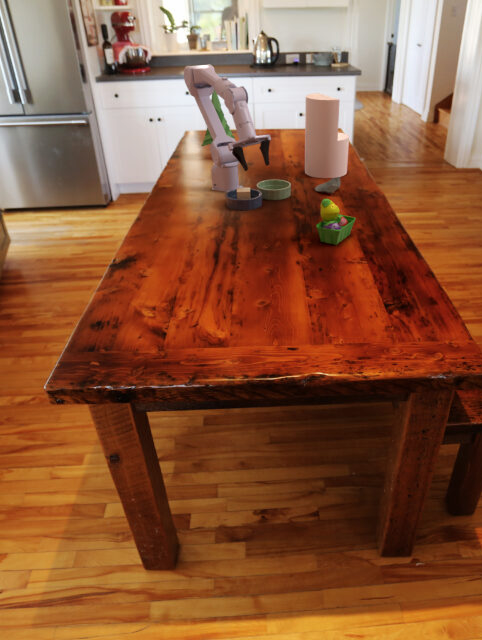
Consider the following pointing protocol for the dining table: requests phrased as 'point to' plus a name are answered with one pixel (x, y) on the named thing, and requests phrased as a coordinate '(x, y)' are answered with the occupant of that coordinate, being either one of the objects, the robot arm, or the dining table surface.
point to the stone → (329, 186)
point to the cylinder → (324, 138)
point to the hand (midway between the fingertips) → (257, 167)
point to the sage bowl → (274, 189)
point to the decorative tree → (217, 106)
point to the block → (243, 193)
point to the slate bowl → (246, 203)
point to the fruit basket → (333, 223)
